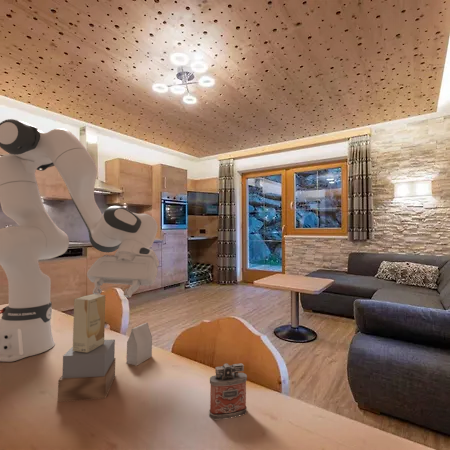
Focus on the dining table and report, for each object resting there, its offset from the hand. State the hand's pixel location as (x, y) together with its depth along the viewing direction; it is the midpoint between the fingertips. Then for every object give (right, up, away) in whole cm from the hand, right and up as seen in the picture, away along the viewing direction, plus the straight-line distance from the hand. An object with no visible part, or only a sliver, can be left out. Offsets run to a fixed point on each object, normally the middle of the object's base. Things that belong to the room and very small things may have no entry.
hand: (111, 295), depth 77 cm
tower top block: (-2, -16, -8) cm, 18 cm away
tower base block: (-2, -21, -9) cm, 22 cm away
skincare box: (-2, -11, -9) cm, 14 cm away
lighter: (+32, -21, -17) cm, 42 cm away
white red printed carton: (+6, -21, +7) cm, 23 cm away
